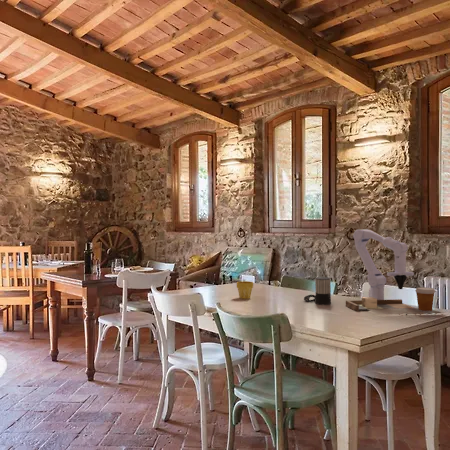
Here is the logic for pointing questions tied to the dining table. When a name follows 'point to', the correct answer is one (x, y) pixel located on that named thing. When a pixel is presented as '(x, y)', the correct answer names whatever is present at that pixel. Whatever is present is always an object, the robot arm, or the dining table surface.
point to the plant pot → (244, 289)
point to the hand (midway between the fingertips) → (400, 288)
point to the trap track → (381, 304)
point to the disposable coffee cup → (425, 298)
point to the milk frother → (321, 291)
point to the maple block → (369, 302)
